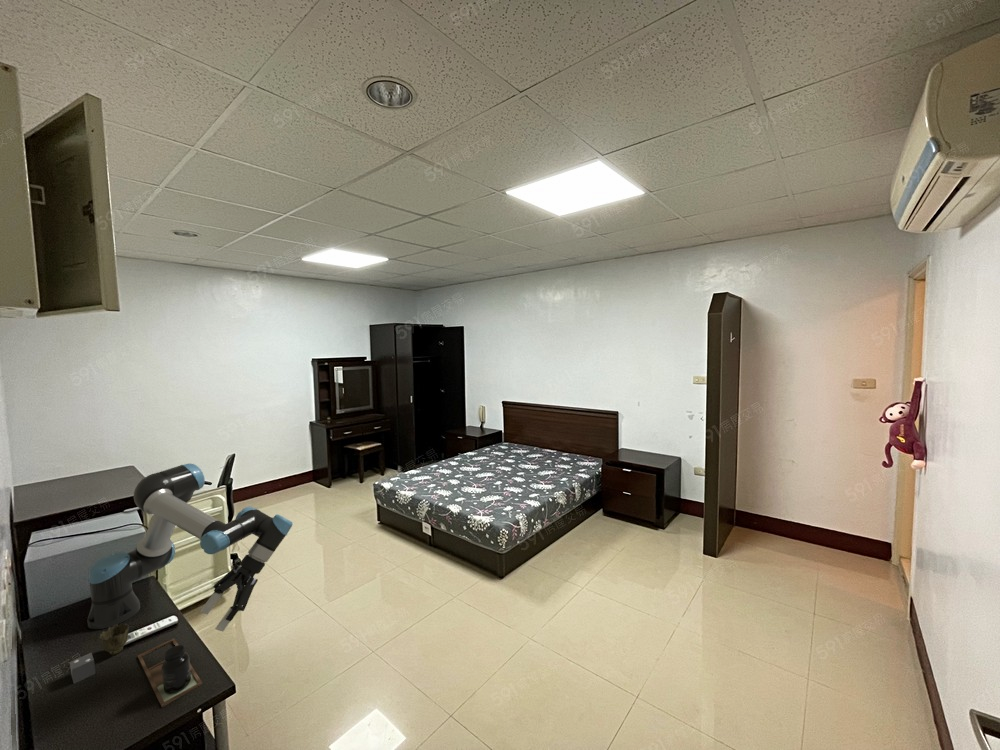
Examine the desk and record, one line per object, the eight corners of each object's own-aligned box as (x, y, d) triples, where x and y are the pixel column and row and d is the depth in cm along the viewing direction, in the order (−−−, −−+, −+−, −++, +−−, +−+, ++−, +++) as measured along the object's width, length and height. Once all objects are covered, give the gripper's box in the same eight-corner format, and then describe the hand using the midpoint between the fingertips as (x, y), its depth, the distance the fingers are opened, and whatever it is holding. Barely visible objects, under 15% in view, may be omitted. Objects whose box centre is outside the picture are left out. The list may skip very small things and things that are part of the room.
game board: (137, 657, 140) (137, 655, 140) (174, 639, 148) (174, 638, 148) (161, 707, 121) (161, 705, 121) (202, 684, 129) (202, 682, 129)
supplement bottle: (196, 681, 130) (192, 646, 129) (171, 698, 124) (168, 662, 123) (183, 673, 133) (180, 639, 132) (159, 690, 127) (155, 654, 126)
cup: (112, 661, 138) (110, 640, 138) (95, 658, 140) (93, 636, 139) (136, 645, 146) (134, 624, 145) (119, 642, 147) (117, 621, 146)
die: (71, 676, 133) (69, 661, 132) (92, 666, 137) (91, 652, 136) (73, 684, 130) (71, 669, 129) (95, 673, 134) (93, 659, 133)
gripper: (281, 574, 140) (236, 640, 130) (249, 551, 155) (207, 609, 145) (264, 566, 136) (215, 635, 125) (233, 544, 150) (187, 603, 140)
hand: (211, 621), depth 135 cm, fingers open, 13 cm apart
